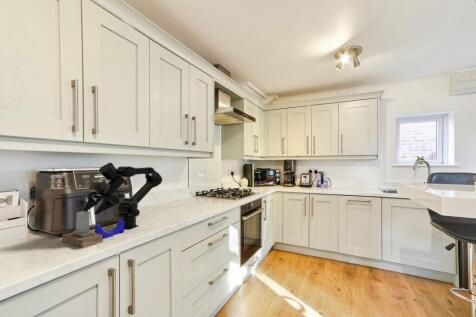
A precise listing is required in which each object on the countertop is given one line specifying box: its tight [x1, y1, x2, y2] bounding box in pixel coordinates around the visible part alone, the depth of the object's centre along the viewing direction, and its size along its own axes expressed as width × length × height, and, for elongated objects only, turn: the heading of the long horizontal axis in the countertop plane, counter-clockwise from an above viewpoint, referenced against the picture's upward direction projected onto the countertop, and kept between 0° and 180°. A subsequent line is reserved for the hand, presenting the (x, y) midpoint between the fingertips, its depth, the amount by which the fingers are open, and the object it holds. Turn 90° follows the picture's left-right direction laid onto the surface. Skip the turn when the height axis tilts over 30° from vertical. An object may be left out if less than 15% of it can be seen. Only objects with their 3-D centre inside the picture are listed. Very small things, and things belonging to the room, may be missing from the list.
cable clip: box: [94, 219, 125, 240], centre depth 106 cm, size 12×4×6 cm, turn 146°
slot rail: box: [61, 231, 104, 249], centre depth 97 cm, size 16×8×3 cm, turn 63°
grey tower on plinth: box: [72, 210, 93, 238], centre depth 97 cm, size 7×4×13 cm, turn 63°
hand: (89, 212), depth 99 cm, fingers open, 9 cm apart
